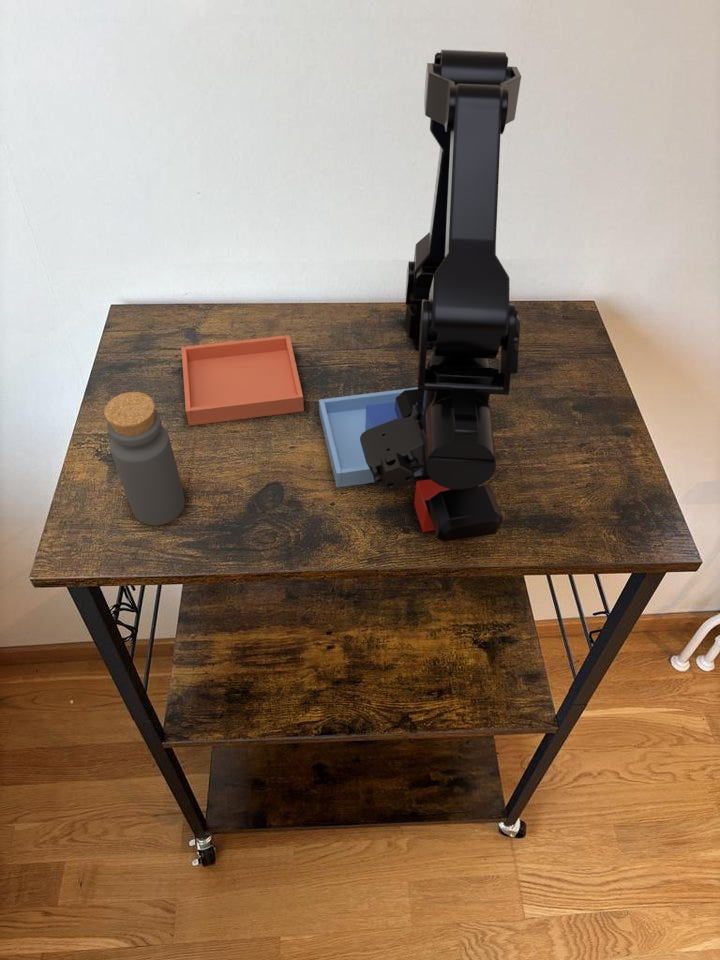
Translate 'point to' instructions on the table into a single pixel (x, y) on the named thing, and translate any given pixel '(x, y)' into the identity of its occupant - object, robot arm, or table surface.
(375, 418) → the blue block
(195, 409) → the orange tray
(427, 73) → the robot arm
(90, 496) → the table surface
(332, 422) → the blue tray
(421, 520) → the red block
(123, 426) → the bottle
